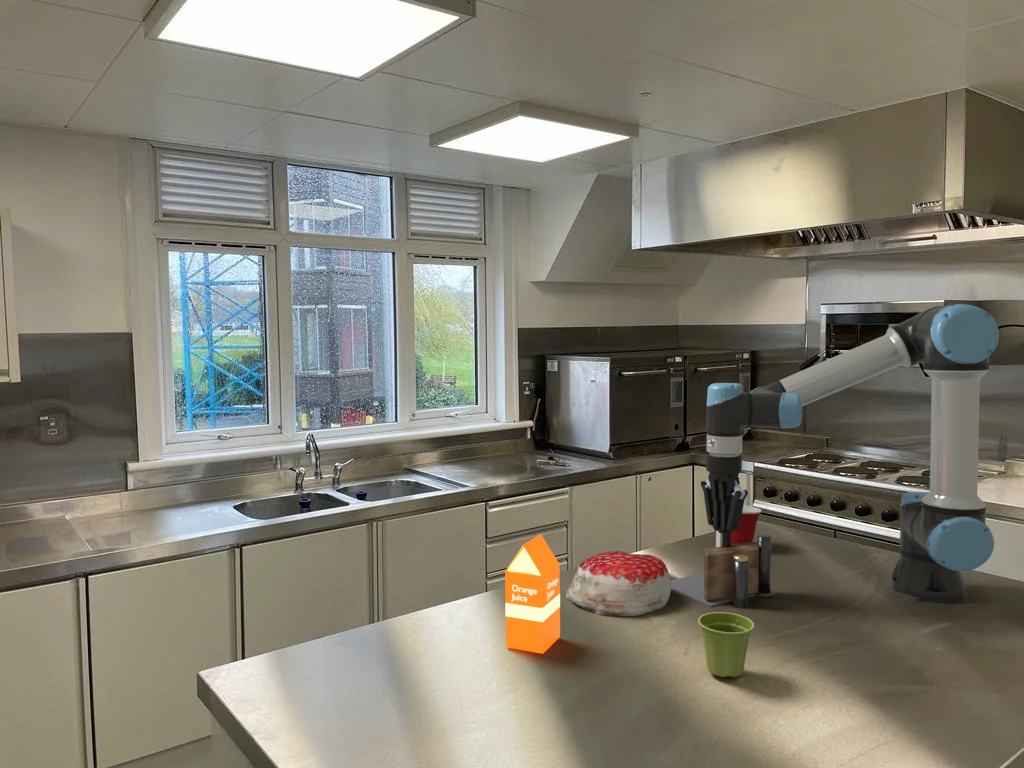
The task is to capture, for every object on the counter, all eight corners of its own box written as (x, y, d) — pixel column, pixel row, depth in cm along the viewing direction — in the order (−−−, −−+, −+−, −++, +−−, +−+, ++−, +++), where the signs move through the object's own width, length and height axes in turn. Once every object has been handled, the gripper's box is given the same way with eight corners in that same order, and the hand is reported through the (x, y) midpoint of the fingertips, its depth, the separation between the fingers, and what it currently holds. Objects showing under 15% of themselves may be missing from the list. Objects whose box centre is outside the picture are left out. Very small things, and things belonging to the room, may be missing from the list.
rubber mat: (766, 592, 174) (766, 591, 174) (710, 606, 165) (710, 605, 165) (711, 572, 188) (711, 571, 188) (658, 584, 180) (658, 583, 180)
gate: (754, 590, 173) (754, 542, 172) (758, 592, 172) (758, 543, 171) (703, 598, 168) (704, 548, 167) (707, 600, 167) (708, 550, 166)
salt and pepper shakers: (786, 597, 171) (787, 539, 170) (740, 609, 164) (741, 548, 163) (762, 588, 177) (763, 532, 176) (717, 599, 170) (717, 541, 169)
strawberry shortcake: (665, 580, 184) (666, 539, 183) (675, 618, 160) (675, 571, 159) (568, 578, 186) (568, 537, 186) (563, 615, 162) (563, 568, 162)
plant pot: (763, 669, 135) (764, 621, 134) (736, 688, 128) (737, 636, 127) (715, 654, 141) (715, 608, 141) (687, 671, 135) (687, 622, 134)
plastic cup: (770, 553, 204) (770, 508, 203) (736, 558, 200) (737, 512, 199) (743, 543, 214) (743, 500, 213) (710, 547, 210) (711, 504, 209)
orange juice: (560, 636, 150) (560, 535, 149) (543, 654, 142) (542, 547, 141) (524, 630, 154) (522, 531, 152) (504, 647, 146) (503, 542, 144)
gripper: (691, 451, 173) (690, 554, 175) (730, 459, 161) (728, 570, 163) (718, 448, 176) (716, 550, 178) (758, 457, 164) (756, 565, 166)
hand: (722, 560), depth 170 cm, fingers closed
